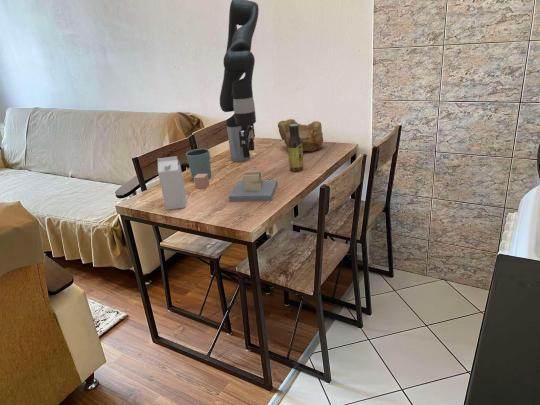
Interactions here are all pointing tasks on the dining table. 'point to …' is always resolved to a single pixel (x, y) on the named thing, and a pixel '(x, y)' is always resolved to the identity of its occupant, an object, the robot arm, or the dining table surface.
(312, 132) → the rough brown rock
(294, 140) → the sauce bottle
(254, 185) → the beech cube
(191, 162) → the teal cup
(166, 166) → the milk carton
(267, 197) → the base board
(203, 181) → the terracotta block
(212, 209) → the dining table surface
